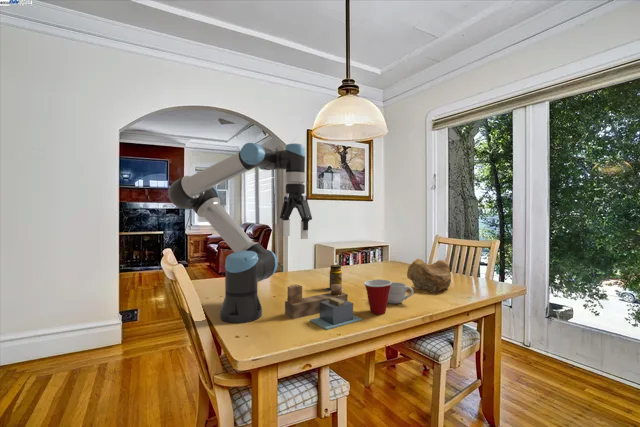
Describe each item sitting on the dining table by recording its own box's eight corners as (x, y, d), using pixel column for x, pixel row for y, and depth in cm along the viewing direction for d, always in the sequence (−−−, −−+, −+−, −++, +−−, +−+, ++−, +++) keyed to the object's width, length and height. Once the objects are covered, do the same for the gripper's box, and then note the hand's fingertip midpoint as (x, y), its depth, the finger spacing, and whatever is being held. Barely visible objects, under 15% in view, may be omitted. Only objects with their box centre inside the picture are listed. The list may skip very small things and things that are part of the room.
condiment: (345, 290, 153) (345, 266, 153) (331, 292, 148) (331, 267, 148) (336, 287, 159) (336, 263, 159) (322, 289, 155) (322, 265, 154)
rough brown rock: (422, 297, 144) (425, 266, 143) (402, 286, 160) (405, 257, 158) (462, 295, 151) (465, 265, 150) (439, 284, 167) (442, 257, 166)
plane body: (293, 319, 112) (293, 289, 112) (284, 314, 117) (285, 285, 117) (347, 306, 127) (347, 279, 127) (338, 302, 132) (338, 277, 132)
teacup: (375, 301, 134) (375, 283, 134) (389, 296, 142) (389, 279, 142) (404, 309, 124) (404, 289, 124) (417, 303, 132) (417, 284, 132)
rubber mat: (326, 329, 102) (326, 328, 102) (310, 321, 110) (310, 319, 110) (362, 320, 112) (362, 318, 112) (344, 312, 120) (344, 311, 120)
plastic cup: (363, 307, 127) (364, 277, 127) (390, 308, 125) (391, 279, 125) (362, 315, 116) (363, 284, 116) (392, 317, 114) (392, 285, 114)
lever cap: (333, 325, 105) (333, 304, 105) (319, 318, 112) (319, 299, 112) (353, 319, 110) (353, 300, 110) (338, 313, 117) (338, 295, 117)
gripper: (321, 182, 114) (321, 239, 115) (287, 186, 135) (287, 234, 135) (304, 181, 110) (304, 240, 110) (272, 185, 130) (271, 235, 130)
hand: (294, 237), depth 122 cm, fingers open, 13 cm apart
